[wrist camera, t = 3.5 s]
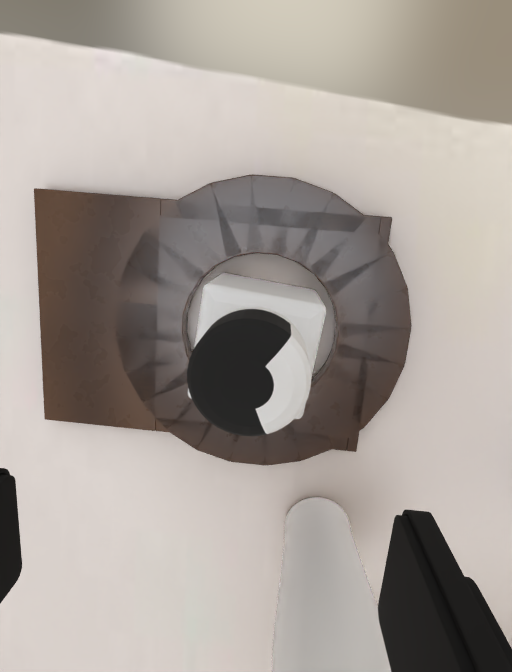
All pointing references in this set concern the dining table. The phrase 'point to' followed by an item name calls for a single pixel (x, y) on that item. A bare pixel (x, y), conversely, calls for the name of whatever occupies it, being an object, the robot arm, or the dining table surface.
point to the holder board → (175, 296)
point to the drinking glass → (324, 597)
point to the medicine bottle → (254, 353)
